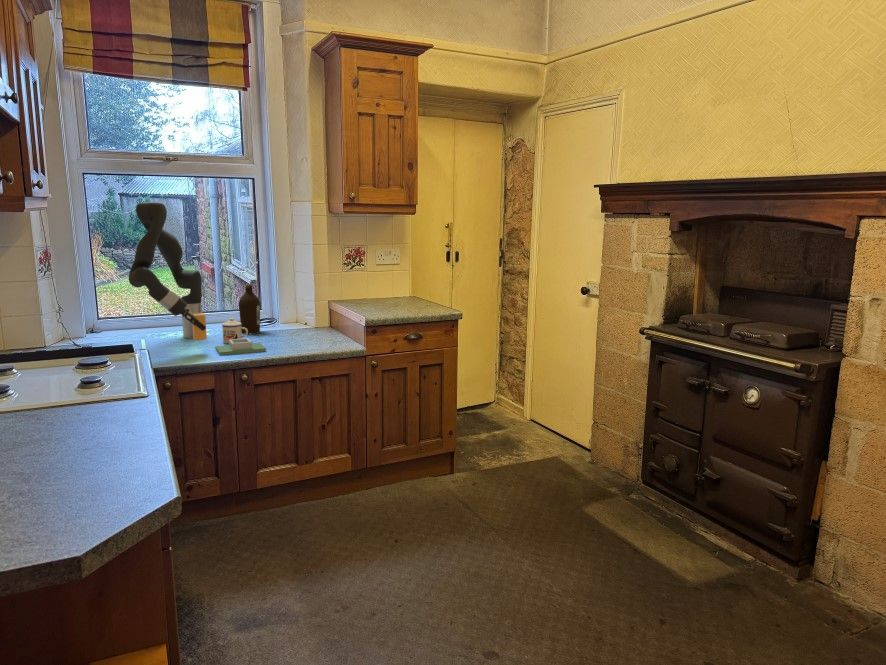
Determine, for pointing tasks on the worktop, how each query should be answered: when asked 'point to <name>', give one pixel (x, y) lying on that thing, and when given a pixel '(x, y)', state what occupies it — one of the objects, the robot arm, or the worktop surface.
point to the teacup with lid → (232, 330)
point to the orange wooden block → (197, 332)
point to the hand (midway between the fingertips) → (203, 327)
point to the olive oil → (249, 311)
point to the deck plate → (240, 347)
